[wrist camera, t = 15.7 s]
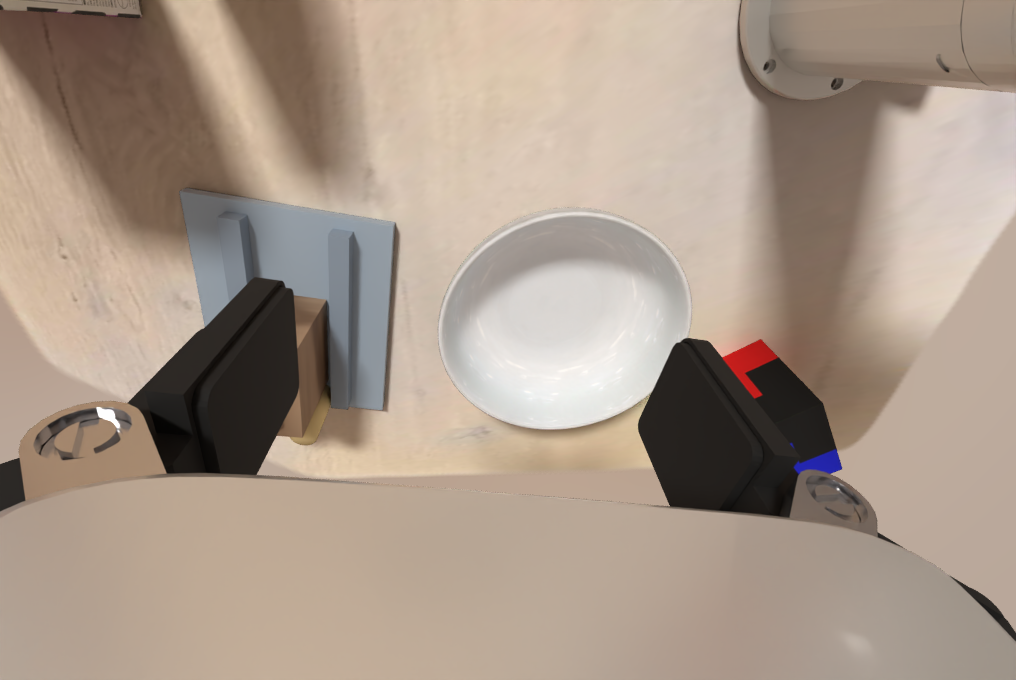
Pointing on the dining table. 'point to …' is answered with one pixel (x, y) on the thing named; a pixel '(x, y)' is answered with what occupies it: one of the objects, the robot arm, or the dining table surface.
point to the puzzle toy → (787, 405)
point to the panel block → (308, 363)
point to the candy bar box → (78, 7)
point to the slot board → (303, 280)
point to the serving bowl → (563, 318)
